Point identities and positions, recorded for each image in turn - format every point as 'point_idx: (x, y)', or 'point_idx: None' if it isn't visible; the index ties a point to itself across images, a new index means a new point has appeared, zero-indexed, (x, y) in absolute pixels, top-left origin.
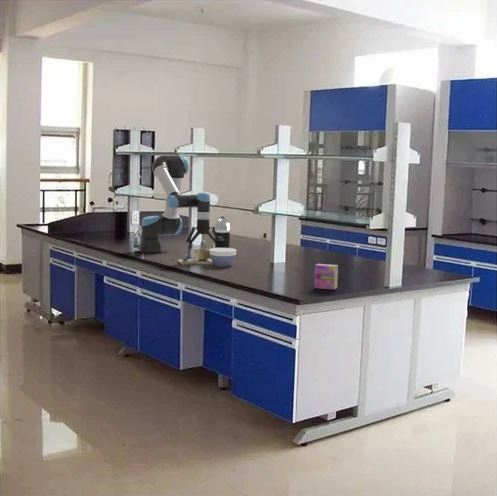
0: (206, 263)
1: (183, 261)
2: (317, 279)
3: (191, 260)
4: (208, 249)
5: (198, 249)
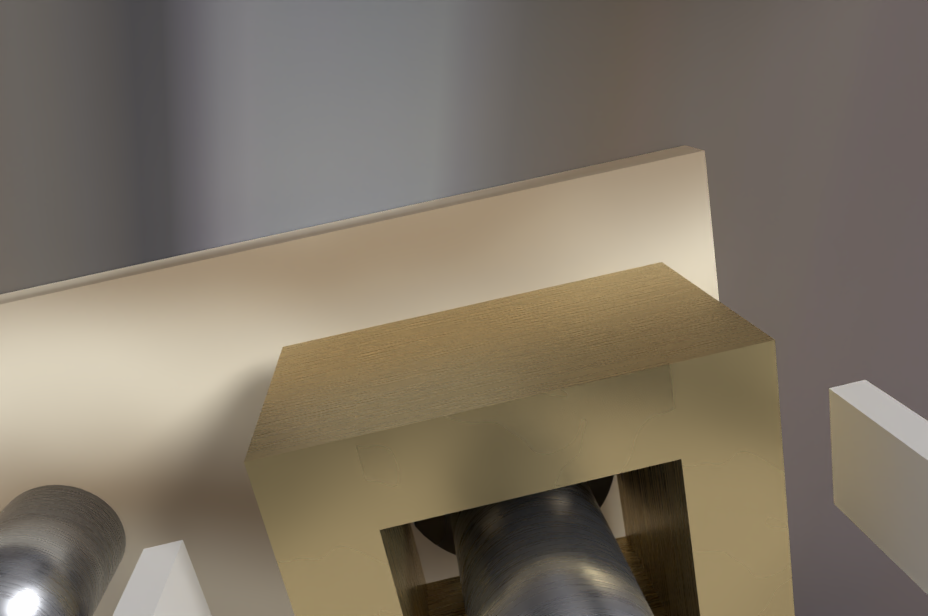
0: None
1: None
2: None
3: (213, 447)
4: (753, 537)
5: (398, 524)
